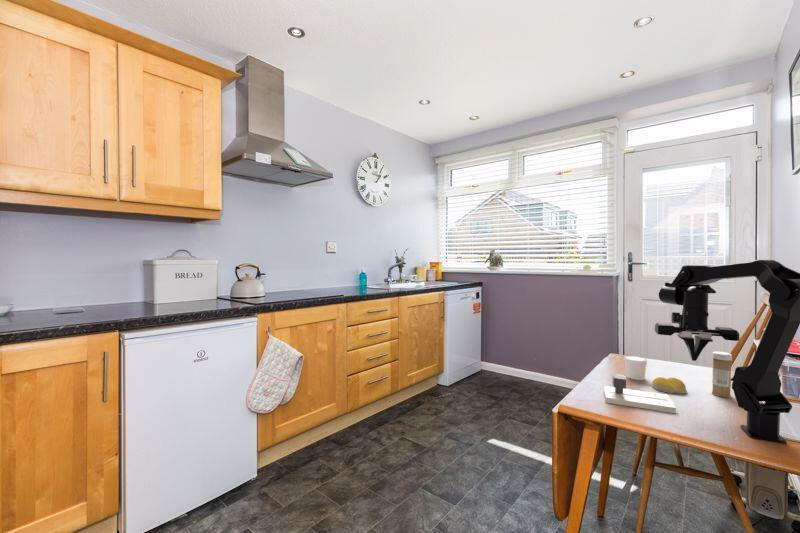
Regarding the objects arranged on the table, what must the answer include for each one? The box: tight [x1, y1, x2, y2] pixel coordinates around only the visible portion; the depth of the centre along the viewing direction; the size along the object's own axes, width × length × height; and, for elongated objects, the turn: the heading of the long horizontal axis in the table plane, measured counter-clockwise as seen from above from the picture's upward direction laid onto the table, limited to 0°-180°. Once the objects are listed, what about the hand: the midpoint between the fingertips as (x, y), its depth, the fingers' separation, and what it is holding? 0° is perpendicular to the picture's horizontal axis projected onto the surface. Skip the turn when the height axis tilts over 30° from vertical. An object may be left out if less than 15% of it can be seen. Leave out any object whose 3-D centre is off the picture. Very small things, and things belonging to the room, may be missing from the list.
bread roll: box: [651, 376, 688, 395], centre depth 120 cm, size 8×9×4 cm
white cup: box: [624, 355, 648, 381], centre depth 132 cm, size 7×7×7 cm
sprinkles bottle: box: [711, 350, 733, 398], centre depth 115 cm, size 5×5×14 cm
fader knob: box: [611, 373, 627, 394], centre depth 113 cm, size 4×3×5 cm
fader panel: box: [603, 385, 677, 414], centre depth 111 cm, size 11×17×2 cm, turn 64°
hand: (693, 360), depth 108 cm, fingers closed
